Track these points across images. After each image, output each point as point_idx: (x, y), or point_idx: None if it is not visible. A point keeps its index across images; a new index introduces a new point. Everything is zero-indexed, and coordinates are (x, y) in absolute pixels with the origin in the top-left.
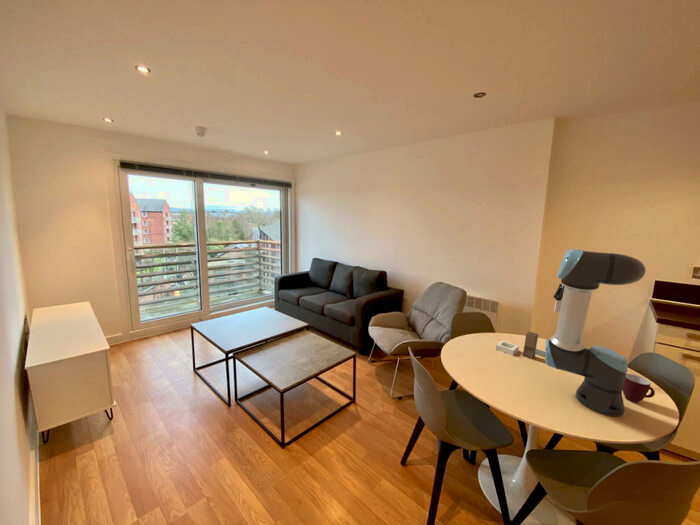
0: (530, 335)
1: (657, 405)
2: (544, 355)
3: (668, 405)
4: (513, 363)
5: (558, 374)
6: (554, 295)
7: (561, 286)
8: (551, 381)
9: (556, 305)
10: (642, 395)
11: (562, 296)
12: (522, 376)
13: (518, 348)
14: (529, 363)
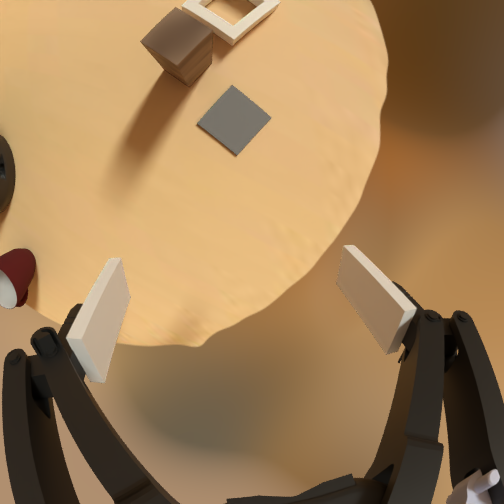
0: (160, 24)
1: (35, 295)
2: (206, 130)
3: (46, 315)
4: (123, 6)
5: (76, 124)
6: (472, 329)
7: (488, 488)
8: (38, 92)
9: (371, 282)
10: (3, 273)
11: (398, 398)
12: (54, 23)
13: (231, 41)
14: (129, 52)
